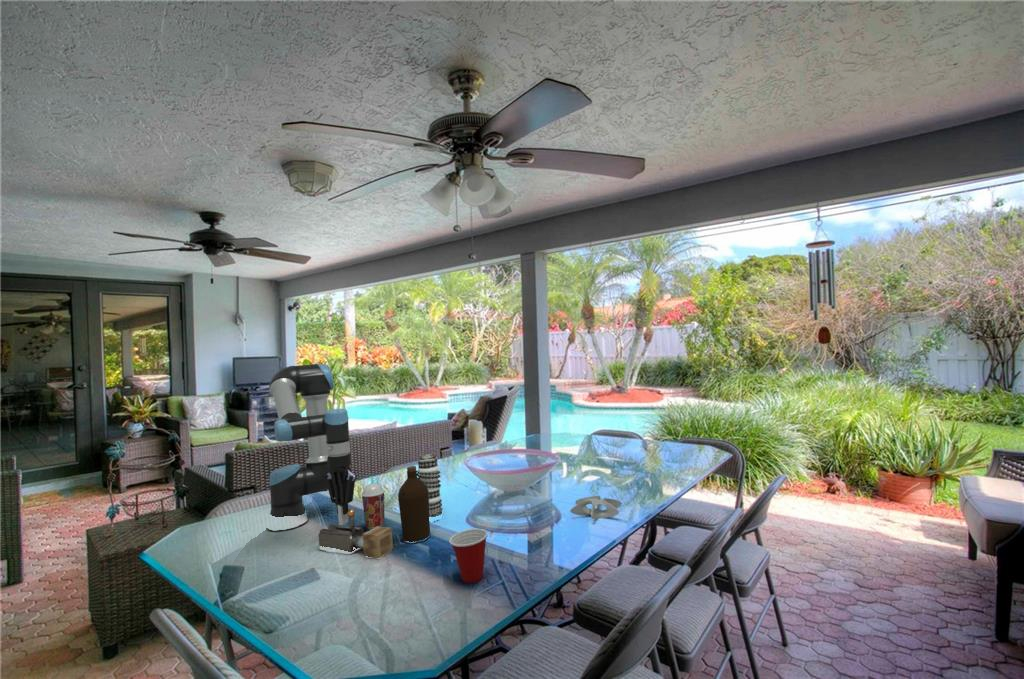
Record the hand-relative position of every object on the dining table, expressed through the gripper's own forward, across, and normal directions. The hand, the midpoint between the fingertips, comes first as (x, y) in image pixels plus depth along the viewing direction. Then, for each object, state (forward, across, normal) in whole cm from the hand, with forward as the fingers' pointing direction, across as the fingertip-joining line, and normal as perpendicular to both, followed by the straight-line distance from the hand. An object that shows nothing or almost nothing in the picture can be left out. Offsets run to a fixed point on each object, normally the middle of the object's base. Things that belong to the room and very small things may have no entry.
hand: (343, 523), depth 158 cm
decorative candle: (+9, +14, +32) cm, 36 cm away
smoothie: (+9, -2, +18) cm, 20 cm away
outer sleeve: (+9, -1, 0) cm, 9 cm away
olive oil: (+9, +20, +14) cm, 26 cm away
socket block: (+9, +15, 0) cm, 17 cm away
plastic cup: (+9, +54, -8) cm, 55 cm away
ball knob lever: (+7, +9, 0) cm, 12 cm away
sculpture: (+9, +76, +47) cm, 90 cm away
